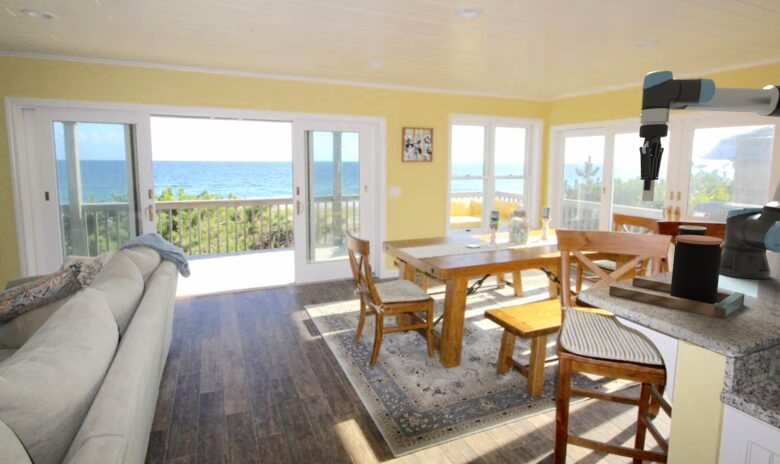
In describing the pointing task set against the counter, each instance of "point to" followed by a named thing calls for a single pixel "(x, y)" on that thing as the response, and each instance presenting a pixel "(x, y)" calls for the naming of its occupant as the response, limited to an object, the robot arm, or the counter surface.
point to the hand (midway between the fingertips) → (647, 200)
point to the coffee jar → (696, 268)
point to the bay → (721, 310)
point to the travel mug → (692, 230)
